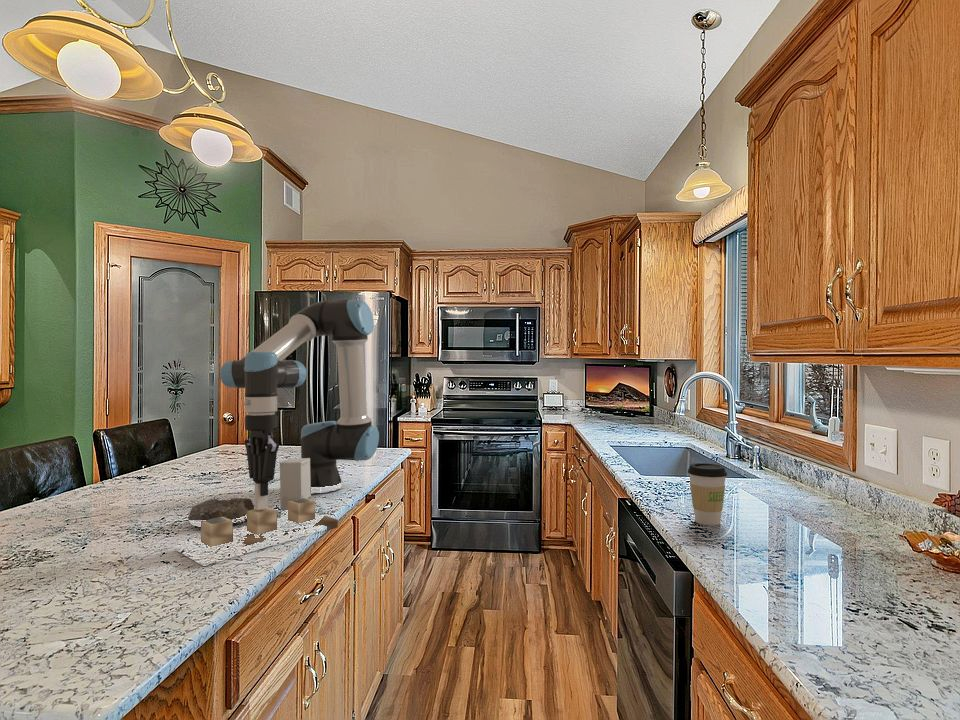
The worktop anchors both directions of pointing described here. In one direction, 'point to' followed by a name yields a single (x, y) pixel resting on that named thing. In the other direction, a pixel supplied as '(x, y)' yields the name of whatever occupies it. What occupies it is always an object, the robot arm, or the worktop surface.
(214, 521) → the marked block 1
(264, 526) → the plain beech block
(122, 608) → the worktop surface
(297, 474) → the skincare box
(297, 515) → the marked block 2
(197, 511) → the rock
